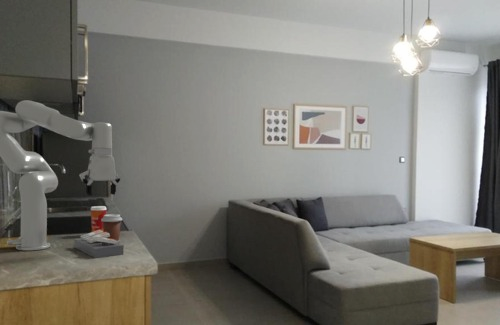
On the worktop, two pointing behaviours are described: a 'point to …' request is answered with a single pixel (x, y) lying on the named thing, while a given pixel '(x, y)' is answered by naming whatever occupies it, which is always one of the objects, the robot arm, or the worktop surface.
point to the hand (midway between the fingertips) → (101, 194)
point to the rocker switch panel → (98, 248)
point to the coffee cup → (112, 225)
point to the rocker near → (104, 240)
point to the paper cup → (97, 217)
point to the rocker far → (91, 234)
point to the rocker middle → (103, 235)
